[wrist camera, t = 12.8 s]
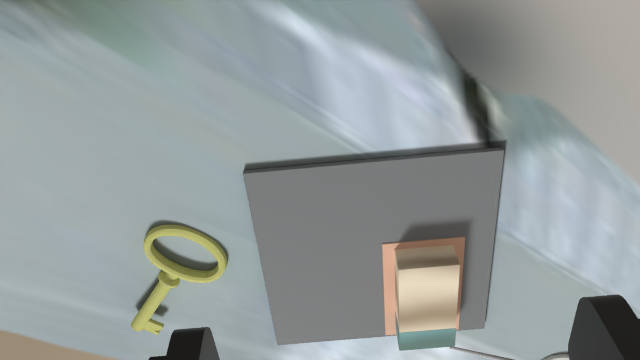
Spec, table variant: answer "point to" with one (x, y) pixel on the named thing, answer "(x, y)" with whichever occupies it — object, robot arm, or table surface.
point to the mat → (370, 237)
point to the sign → (554, 359)
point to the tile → (426, 296)
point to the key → (174, 271)
